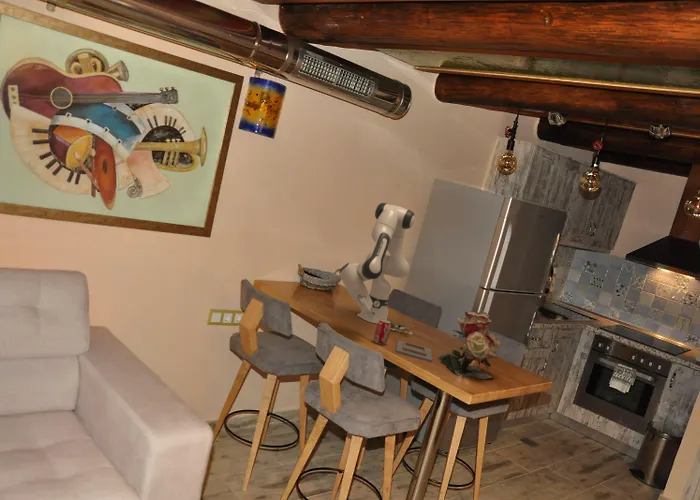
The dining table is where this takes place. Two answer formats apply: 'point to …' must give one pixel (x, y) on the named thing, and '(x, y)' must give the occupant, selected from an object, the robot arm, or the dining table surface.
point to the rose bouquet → (473, 346)
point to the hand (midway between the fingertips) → (373, 317)
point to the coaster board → (414, 350)
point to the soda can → (382, 331)
